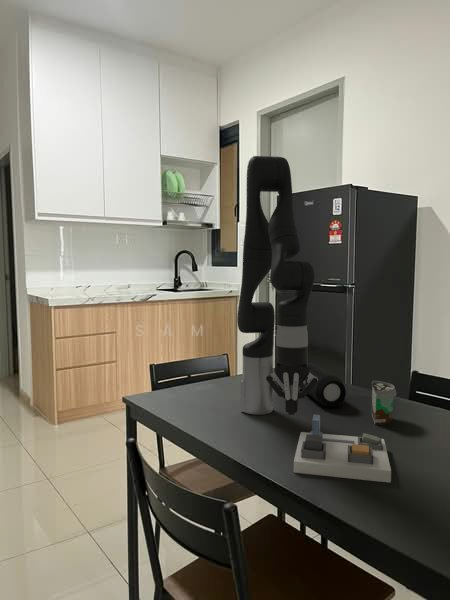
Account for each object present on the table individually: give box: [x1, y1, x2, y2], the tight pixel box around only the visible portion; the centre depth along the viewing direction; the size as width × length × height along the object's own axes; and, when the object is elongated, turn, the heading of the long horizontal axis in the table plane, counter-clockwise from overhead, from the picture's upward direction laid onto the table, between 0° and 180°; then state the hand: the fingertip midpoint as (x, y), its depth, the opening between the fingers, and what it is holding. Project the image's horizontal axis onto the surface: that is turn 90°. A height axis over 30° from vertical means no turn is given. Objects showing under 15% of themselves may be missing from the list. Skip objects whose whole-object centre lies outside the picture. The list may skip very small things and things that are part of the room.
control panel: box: [293, 431, 392, 483], centre depth 108 cm, size 20×18×4 cm
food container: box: [371, 380, 398, 426], centre depth 135 cm, size 12×6×10 cm, turn 168°
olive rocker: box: [361, 432, 380, 445], centre depth 111 cm, size 4×3×1 cm
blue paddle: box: [309, 414, 324, 436], centre depth 114 cm, size 3×4×5 cm
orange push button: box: [351, 444, 369, 455], centre depth 104 cm, size 4×4×2 cm
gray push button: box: [305, 434, 323, 451], centre depth 106 cm, size 4×4×2 cm
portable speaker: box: [299, 361, 347, 408], centre depth 158 cm, size 26×10×10 cm, turn 11°
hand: (291, 414), depth 115 cm, fingers closed
